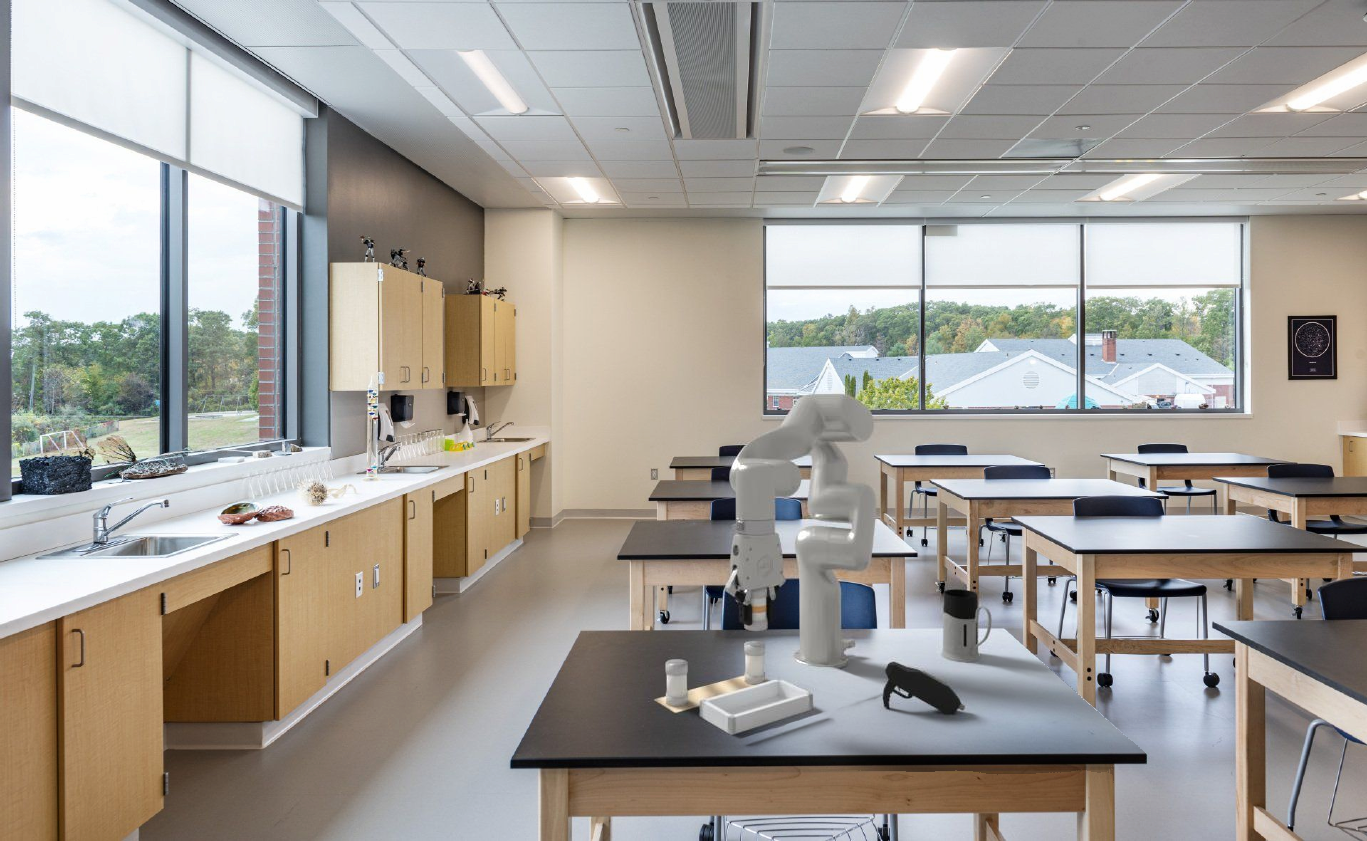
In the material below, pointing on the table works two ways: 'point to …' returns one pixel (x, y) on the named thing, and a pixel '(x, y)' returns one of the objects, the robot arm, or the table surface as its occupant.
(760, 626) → the marked fuse
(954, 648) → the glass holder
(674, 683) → the fuse
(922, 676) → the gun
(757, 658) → the cylinder
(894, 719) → the table surface
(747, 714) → the tray
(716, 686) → the board
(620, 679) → the table surface
